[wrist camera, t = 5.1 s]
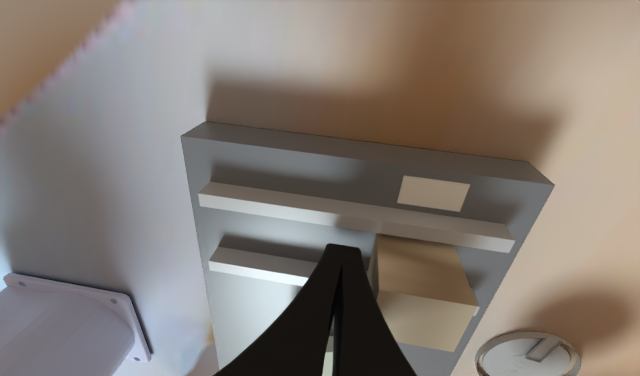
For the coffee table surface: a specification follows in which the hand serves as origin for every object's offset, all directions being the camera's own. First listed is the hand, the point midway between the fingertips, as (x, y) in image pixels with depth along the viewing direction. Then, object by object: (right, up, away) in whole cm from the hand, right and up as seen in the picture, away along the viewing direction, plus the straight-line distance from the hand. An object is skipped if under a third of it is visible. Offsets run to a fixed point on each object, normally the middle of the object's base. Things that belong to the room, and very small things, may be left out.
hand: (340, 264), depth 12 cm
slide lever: (+3, 0, +1) cm, 3 cm away
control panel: (0, -4, +6) cm, 7 cm away
